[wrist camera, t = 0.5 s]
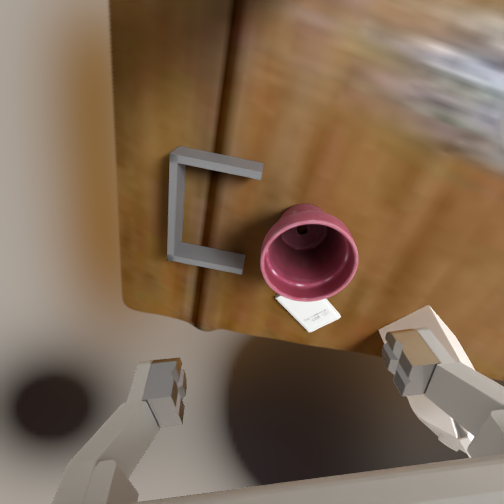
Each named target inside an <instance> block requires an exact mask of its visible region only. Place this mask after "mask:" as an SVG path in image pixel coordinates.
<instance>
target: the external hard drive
mask: <svg viewBox="0 0 504 504" xmlns="http://www.w3.org/2000/svg"><path fill="white" fill-rule="evenodd" d="M275 299H276V300H277V301H278V302H279V303H280V304H281V305H282V306H283V307H284V308H285V309H286V310H287V311H288V312H289V313H290V314H291V315H292V316H293V317H294V318H295V319H296V320H297V321H298V322H299V323H300V324H301V325H302V326H303V327H304V328H305V329H306V330H307V331H308V332H312V331H314V330H316V329H318V328H321V327H323V326H325V325H327V324H329V323H331V322H333V321H335V320H337V319H339V318H340V317H341V316H340V314H339V313H338V311H337V310H336V309H335V308H334V307H333V306H332V305H331V303H330V302H329V301H328V300H327V299H322V300H318V301H312V302H301V301H294V300H291V299H288V298H285V297H283V296H281V295H279V294H277V295H275Z"/></svg>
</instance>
